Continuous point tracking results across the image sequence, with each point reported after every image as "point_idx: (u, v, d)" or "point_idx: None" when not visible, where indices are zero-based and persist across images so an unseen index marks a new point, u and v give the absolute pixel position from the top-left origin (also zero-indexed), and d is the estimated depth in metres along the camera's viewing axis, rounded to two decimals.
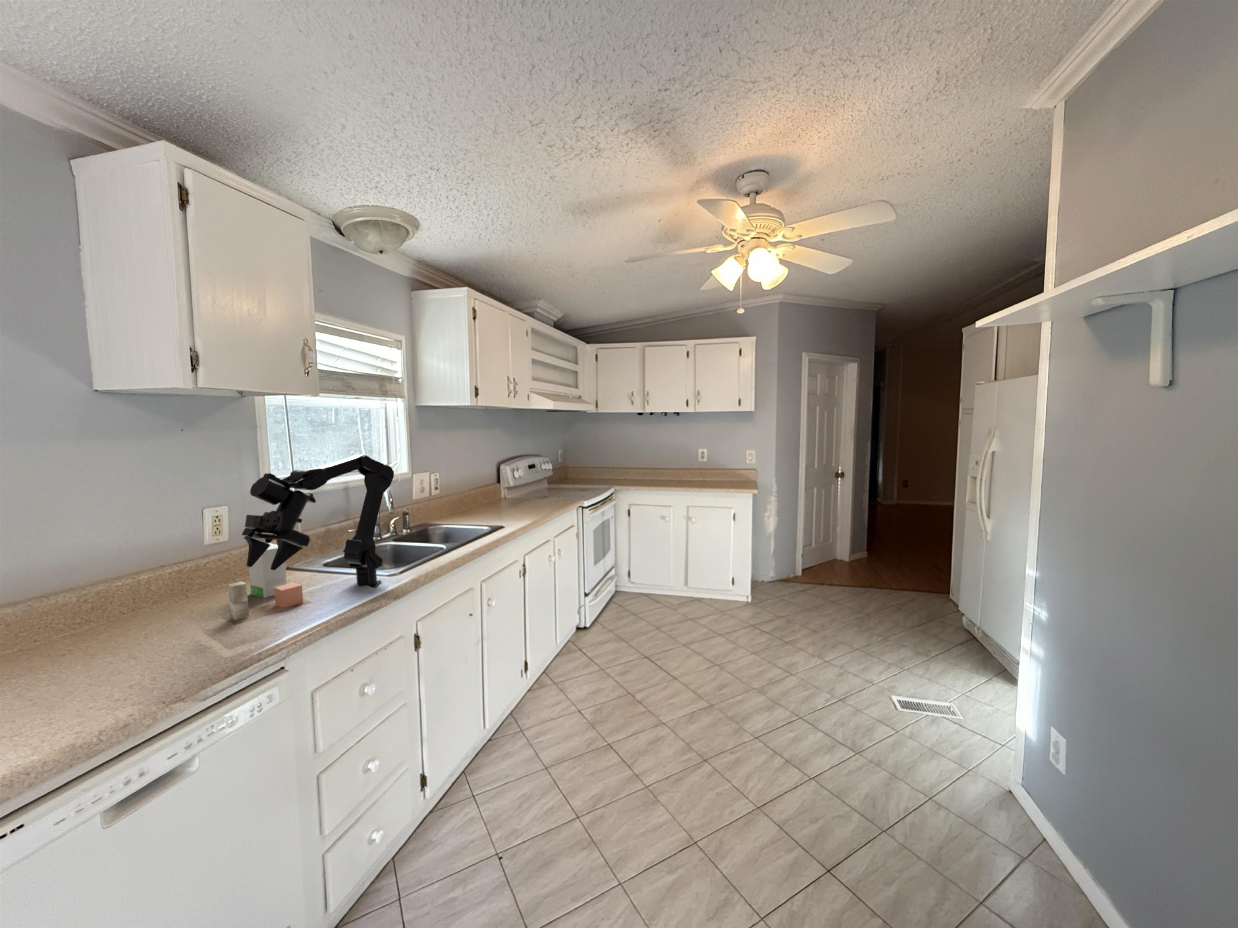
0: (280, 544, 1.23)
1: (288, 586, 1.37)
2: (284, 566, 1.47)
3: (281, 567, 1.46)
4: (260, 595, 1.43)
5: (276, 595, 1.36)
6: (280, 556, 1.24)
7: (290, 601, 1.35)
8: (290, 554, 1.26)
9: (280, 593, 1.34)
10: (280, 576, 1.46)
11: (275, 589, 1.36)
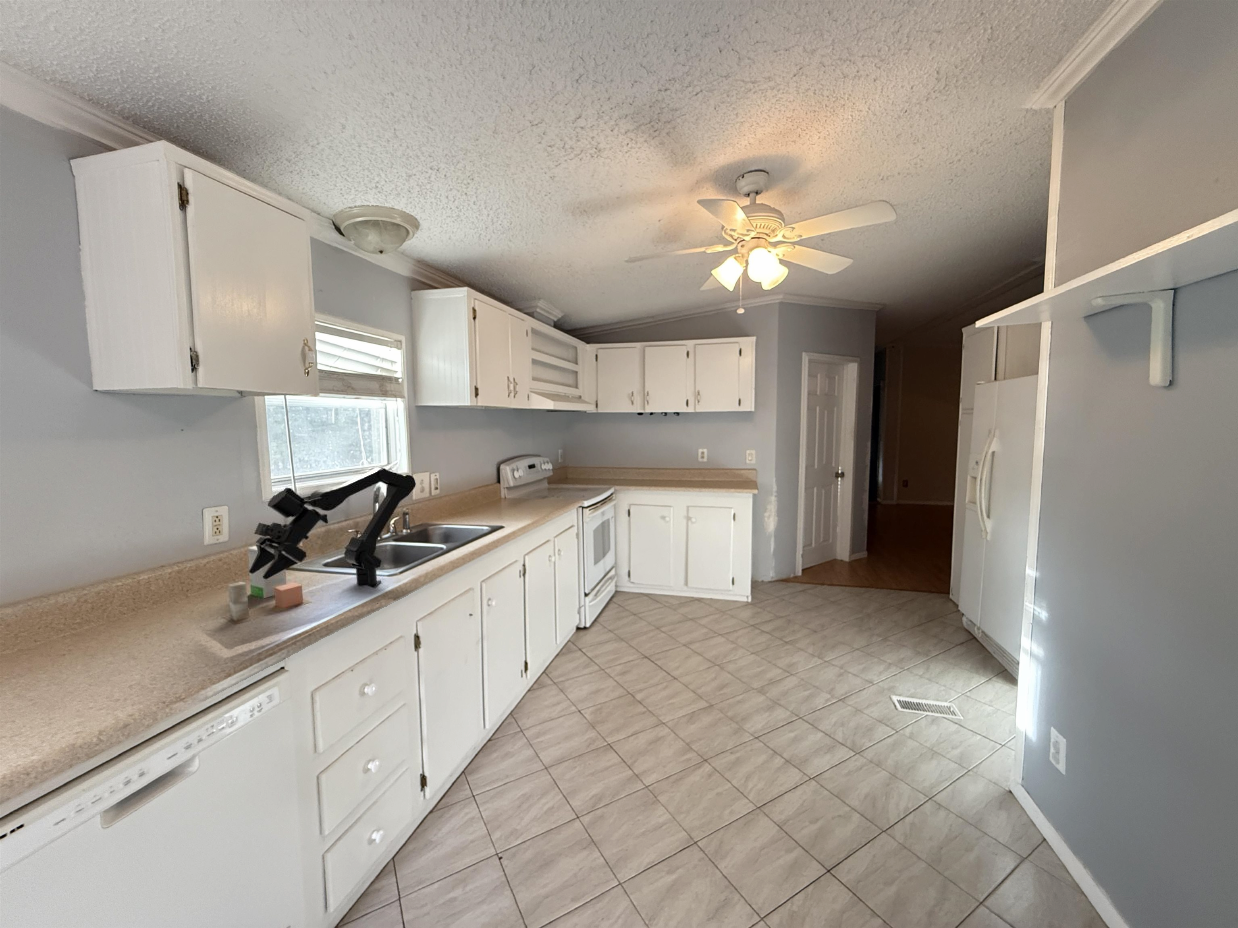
0: (277, 554, 1.29)
1: (288, 586, 1.37)
2: None
3: None
4: (260, 595, 1.43)
5: (276, 595, 1.36)
6: (274, 566, 1.29)
7: (290, 601, 1.35)
8: (284, 567, 1.31)
9: (280, 593, 1.34)
10: (280, 576, 1.46)
11: (275, 589, 1.36)
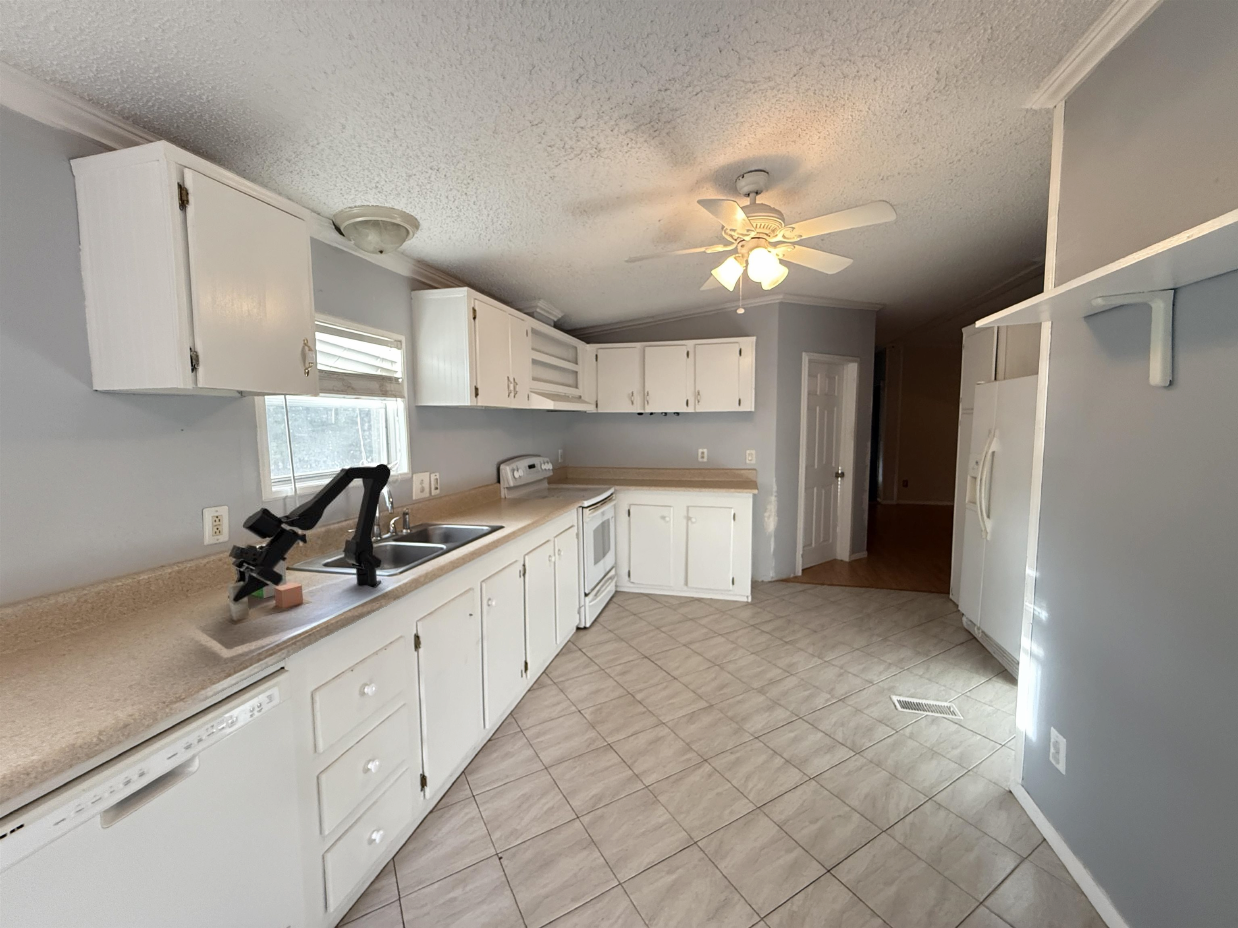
0: (247, 576, 1.26)
1: (288, 586, 1.37)
2: (284, 566, 1.47)
3: (281, 567, 1.46)
4: (260, 595, 1.43)
5: (276, 595, 1.36)
6: (244, 589, 1.26)
7: (290, 601, 1.35)
8: (255, 588, 1.28)
9: (280, 593, 1.34)
10: None
11: (275, 589, 1.36)
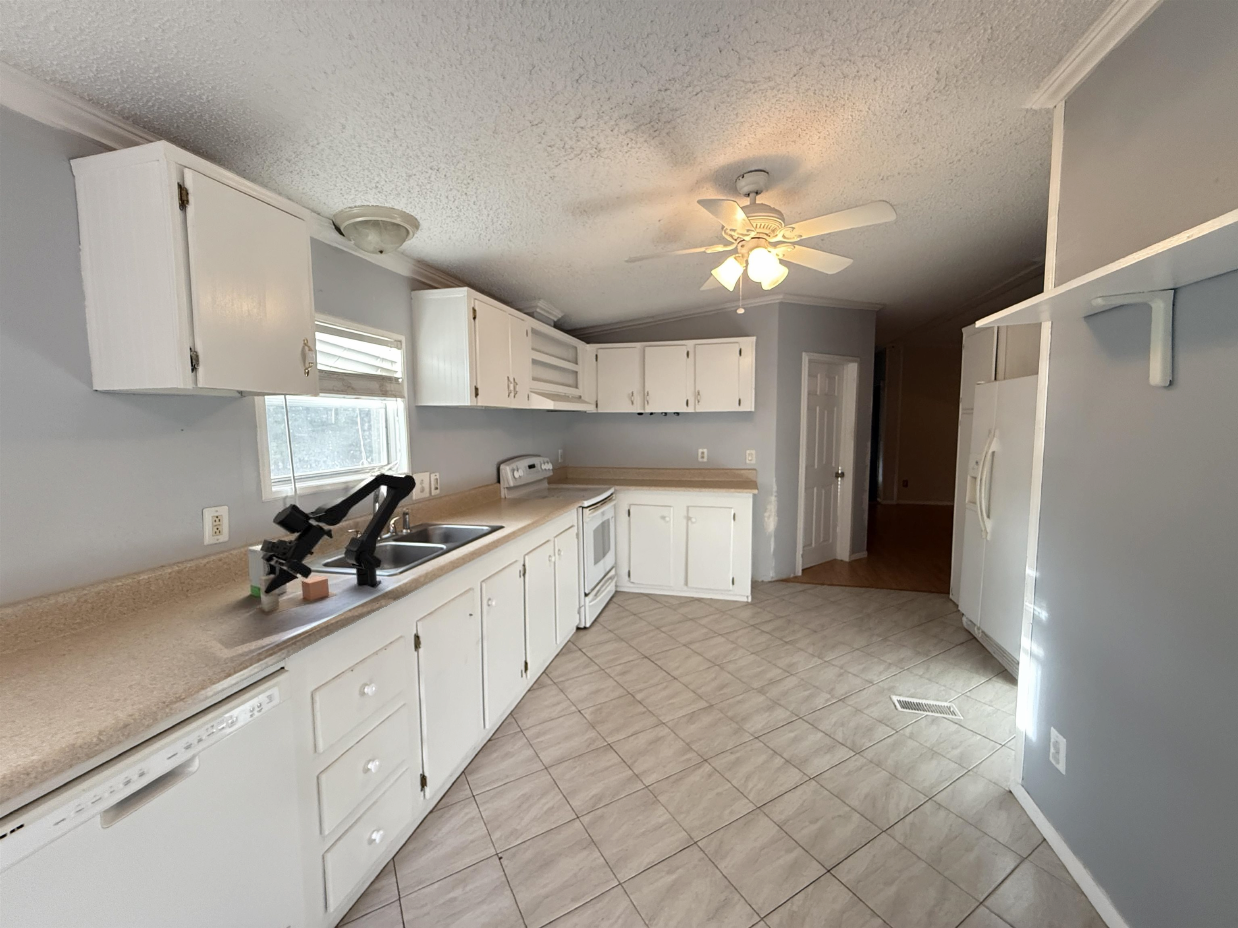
0: (278, 570, 1.32)
1: (315, 579, 1.42)
2: None
3: None
4: (260, 595, 1.43)
5: (303, 588, 1.41)
6: (275, 581, 1.32)
7: (316, 593, 1.41)
8: (285, 581, 1.33)
9: (308, 586, 1.40)
10: None
11: (302, 582, 1.41)
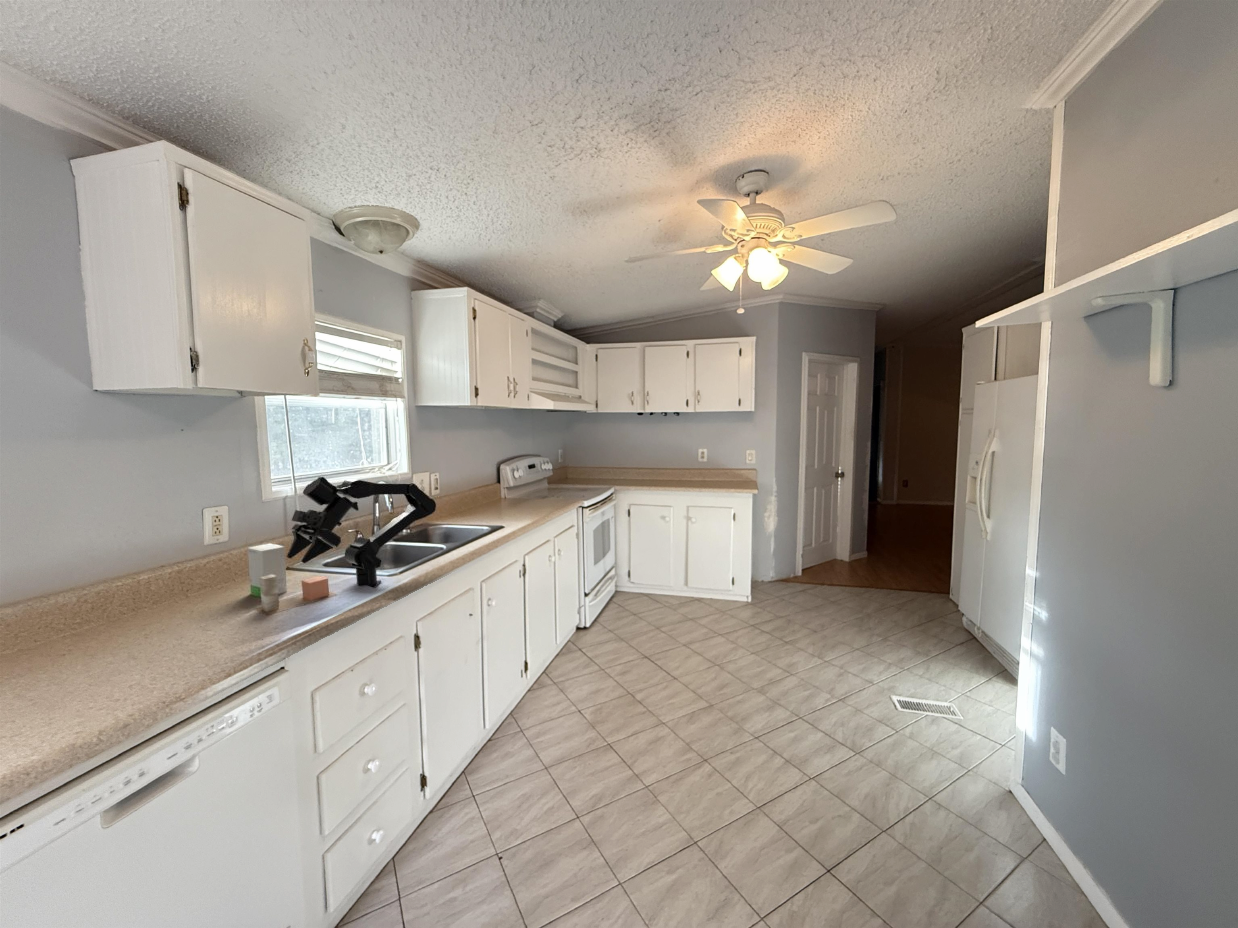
0: (314, 540, 1.36)
1: (315, 579, 1.42)
2: (284, 566, 1.47)
3: (281, 567, 1.46)
4: (260, 595, 1.43)
5: (304, 588, 1.41)
6: (311, 551, 1.36)
7: (317, 593, 1.41)
8: (321, 551, 1.38)
9: (308, 586, 1.40)
10: (280, 576, 1.46)
11: (303, 582, 1.41)
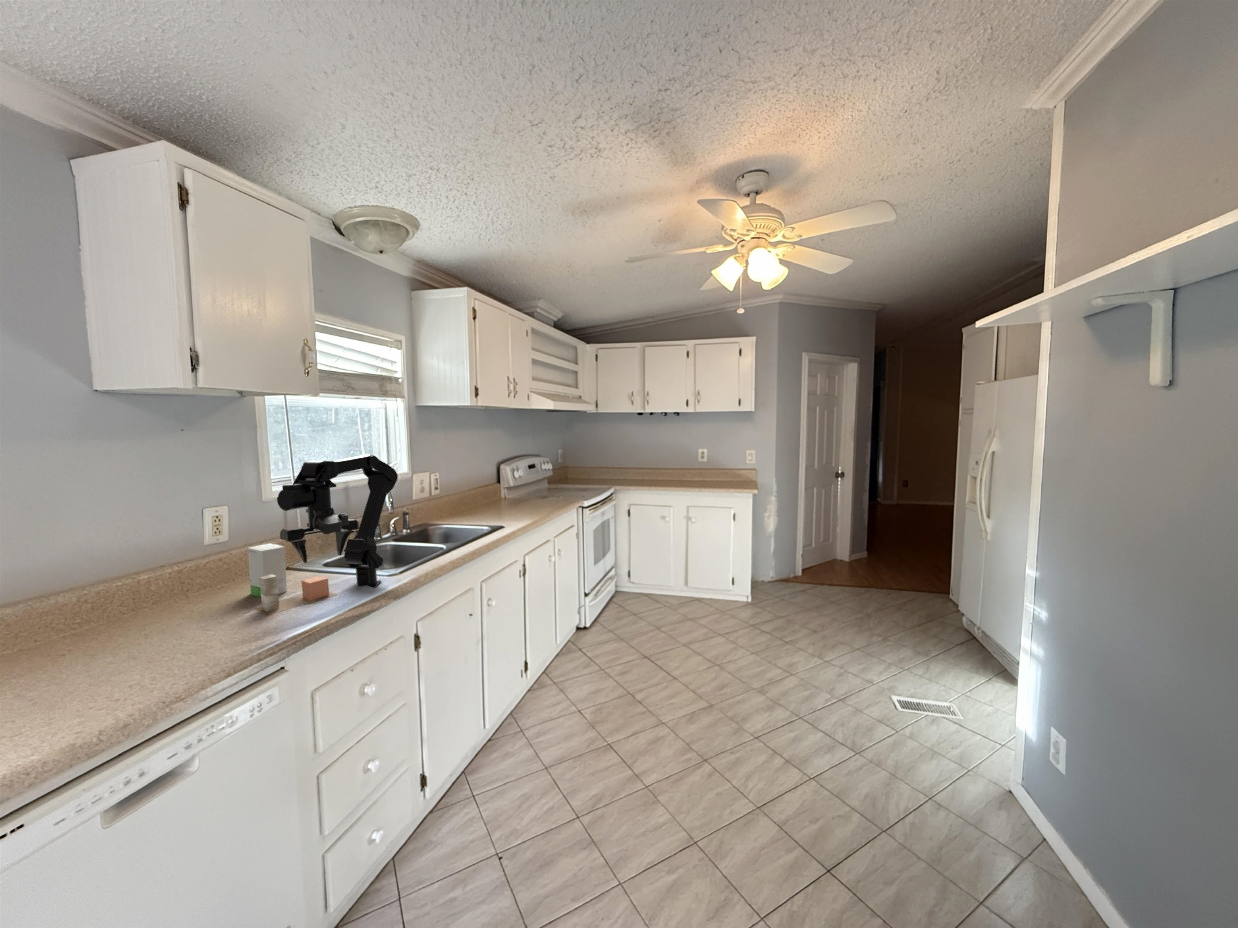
0: (349, 534, 1.43)
1: (315, 579, 1.42)
2: (284, 566, 1.47)
3: (281, 567, 1.46)
4: (260, 595, 1.43)
5: (304, 588, 1.41)
6: None
7: (317, 593, 1.41)
8: None
9: (308, 586, 1.40)
10: (280, 576, 1.46)
11: (303, 582, 1.41)
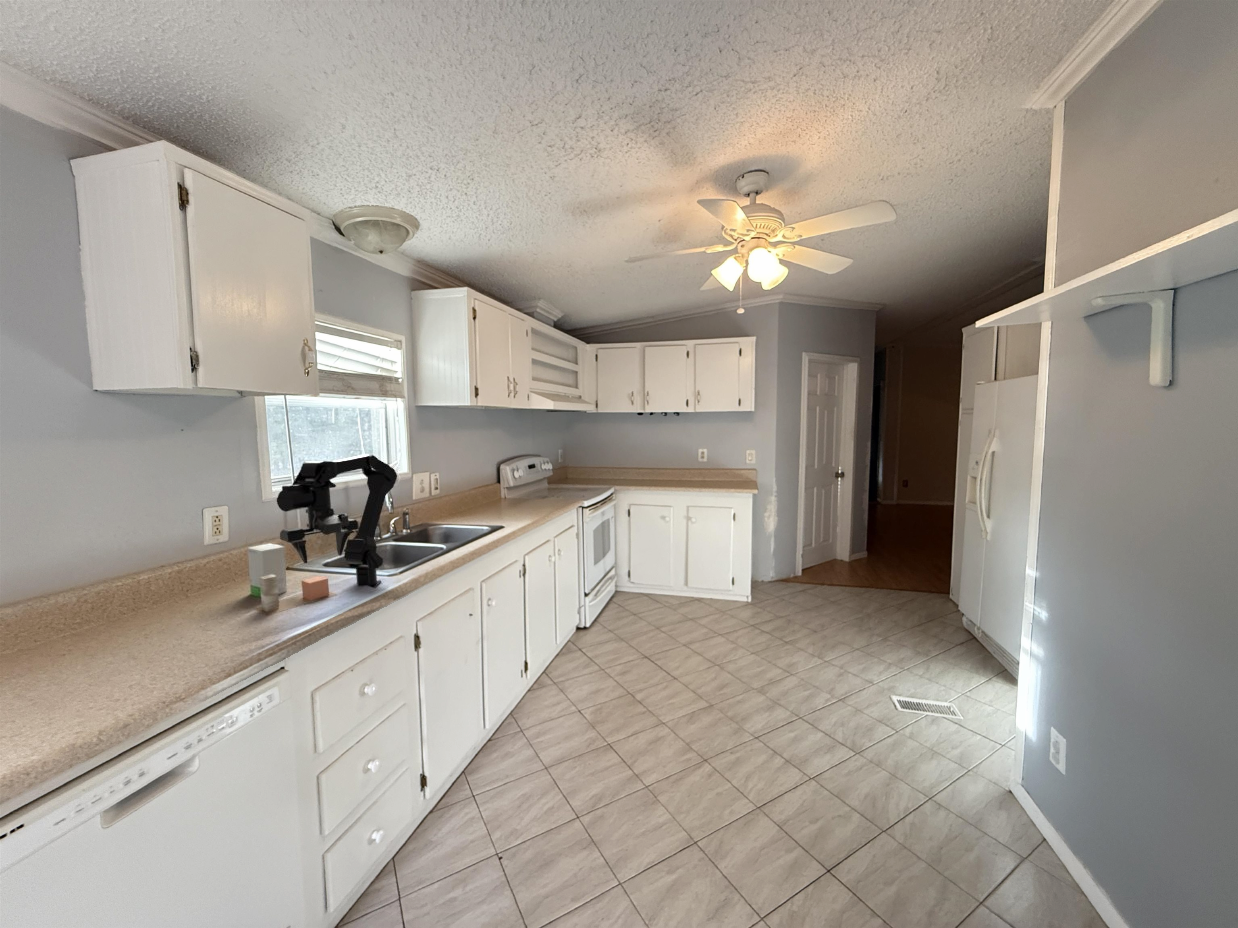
0: (349, 534, 1.43)
1: (315, 579, 1.42)
2: (284, 566, 1.47)
3: (281, 567, 1.46)
4: (260, 595, 1.43)
5: (304, 588, 1.41)
6: None
7: (317, 593, 1.41)
8: None
9: (308, 586, 1.40)
10: (280, 576, 1.46)
11: (303, 582, 1.41)
